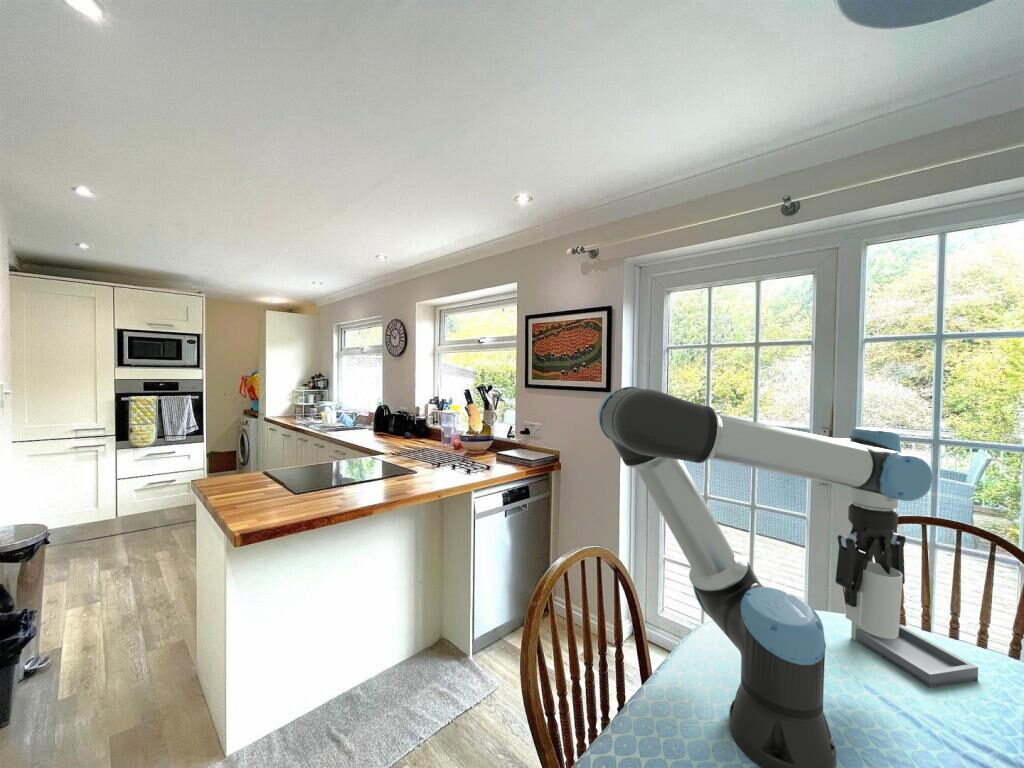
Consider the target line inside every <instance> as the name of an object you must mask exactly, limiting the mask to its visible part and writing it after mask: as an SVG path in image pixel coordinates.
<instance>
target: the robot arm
mask: <svg viewBox="0 0 1024 768" xmlns="http://www.w3.org/2000/svg"><path fill="white" fill-rule="evenodd" d="M597 417H598V418H597V419H598V420H597V421H598V425H599V426H600V429H601V431H602V433H603V434H604V436H606V438H607V439H609V440H610V441H611V442H612V444H613V445H614V448H615V450H616V451H617V453H618V455H619V456H620V458H621V459H622V461H623V463H624V465H625V466H627V467H630V468H632V469H635V470H636V471H637V472H638V474H639V476H640V479H642V482H643V484H644V486H645V487H646V489H647V490H648V492H649V495H650V496H651V498H652V499H653V501H654V503H655V505H656V506H657V508H658V510H659V512H660V513H661V516H662V517H663V519H664V521H665V523H666V524H667V526H668V528H669V529H670V532H671V533H672V535H673V537H674V538H675V541H676V543H677V544H678V546H679V547H680V549H681V551H682V553H683V555H684V557H685V558H686V561H687V562H688V564H689V566H690V569H689V573H688V575H689V578H688V579H689V581H690V583H691V584H692V587H693V588H692V589H693V593H694V596H695V597H696V600H697V602H698V604H699V606H700V607H701V608H702V610H703V611H704V612H705V614H706V615H707V616H708V617H709V618H710V619H711V620H712V621H713V622H714V623H715V624H716V625H717V627H719V629H720V630H721V631H722V632H723V633H724V635H725V636H726V637H727V638H728V639H729V640H730V642H731V643H732V644H733V645H734V646H735V647H736V648H737V650H738V651H739V653H740V658H741V660H740V684H739V686H738V687H737V691H736V694H735V697H734V699H733V700H732V702H731V704H730V707H729V712H728V716H729V718H728V727H729V732H730V734H731V737H732V739H733V740H734V742H735V743H736V745H737V747H738V748H739V749H740V750H741V752H743V753H744V755H746V756H747V758H749V759H750V760H751V761H752V762H754V763H755V764H756V763H757V764H756V765H758V766H759V765H760V766H759V767H761V766H762V767H764V768H837V750H836V746H835V743H834V739H833V738H832V734H831V730H830V727H829V725H828V721H827V719H826V716H825V712H824V691H825V689H824V688H825V687H824V686H825V660H826V659H825V657H826V650H827V649H826V647H827V645H826V639H825V630H824V624H823V622H822V620H821V618H820V617H819V615H818V614H817V612H816V611H815V610H814V609H813V608H812V606H810V605H809V604H808V603H807V602H806V601H803V600H802V599H801V598H799V597H797V596H795V595H793V594H787V593H786V591H784V590H781V589H778V588H773V587H768V586H767V587H766V586H764V585H762V583H761V582H760V581H759V579H758V578H757V576H756V574H755V572H754V570H753V569H752V566H751V565H750V563H749V562H748V560H747V558H746V557H745V556H744V554H742V552H739V551H736V550H733V549H732V547H731V545H730V543H729V541H728V540H727V538H726V536H725V534H724V533H723V531H722V529H721V528H720V526H719V524H718V522H717V520H716V518H715V517H714V515H713V513H712V511H711V509H710V508H709V506H708V504H707V503H706V501H705V499H704V496H703V495H702V493H701V491H700V490H699V488H698V486H697V484H696V483H695V481H694V479H693V477H692V475H691V474H690V472H689V470H688V469H687V466H686V465H685V463H684V462H685V461H686V462H690V463H691V462H692V463H696V464H703V463H706V462H707V461H708V460H712V461H718V462H723V463H726V464H727V463H728V464H731V465H736V466H742V467H747V468H752V469H757V470H763V471H768V472H773V473H778V474H783V475H788V476H792V477H796V478H797V477H798V478H803V479H807V480H812V481H817V482H822V483H827V484H831V485H832V484H833V485H837V486H843V487H848V500H849V502H850V503H848V511H847V513H848V515H847V517H848V521H849V522H850V524H851V526H852V528H851V530H850V532H849V534H847V535H842V534H839V535H837V542H838V552H837V553H838V554H837V561H836V562H837V565H836V573H835V583H836V584H837V585H839V586H842V587H843V588H844V587H845V591H844V603H845V619H847V620H849V621H851V623H852V622H854V623H856V624H857V625H862V615H863V592H862V591H860V587H861V583H862V580H863V569H864V570H866V568H867V564H868V562H870V561H871V560H873V559H874V563H878V564H880V565H881V566H882V568H883V569H884V570H885V571H886V573H887V574H889V575H890V567H891V568H894V569H896V570H898V571H899V572H901V573H902V574H903V576H902V586H903V585H904V584H905V582H906V579H905V578H906V576H905V575H906V574H905V555H904V553H905V552H904V547H905V543H906V539H907V538H906V536H904V535H902V534H899V533H897V532H894V531H895V530H897V529H898V528H899V527H898V526H899V512H898V510H897V508H898V507H899V501H903V502H913V501H918V500H920V499H922V498H923V497H925V496H926V494H928V492H929V491H930V490H931V487H932V483H933V482H932V481H933V479H934V478H933V471H932V469H931V466H930V465H929V464H928V462H926V461H925V460H924V459H923V458H922V457H919V456H918V455H914V454H909V453H906V452H905V451H902V448H901V436H900V434H899V433H898V432H897V431H896V430H893V429H888V428H880V427H867V426H866V427H864V426H860V427H859V426H858V427H853V428H852V429H851V431H850V435H849V437H846V438H843V437H842V438H841V437H840V438H839V437H829V436H824V435H820V434H819V435H818V434H815V433H808V432H804V431H798V430H796V429H795V430H793V429H790V428H786V427H785V428H784V427H780V426H777V425H776V426H775V425H770V424H766V423H761V422H756V421H752V420H751V421H750V420H746V419H741V418H736V417H731V416H727V415H722V414H719V413H718V414H717V411H716V410H715V409H714V407H713V406H708V405H703V404H699V403H695V402H692V401H688V400H684V399H681V398H679V397H676V396H674V395H671V394H668V393H665V392H662V391H659V390H655V389H649V388H639V387H636V386H625V387H624V386H623V387H622V388H618V389H616V390H614V391H612V392H610V393H609V394H607V396H605V397H604V399H603V400H602V402H601V404H600V406H599V409H598V415H597ZM762 767H761V768H762Z"/></svg>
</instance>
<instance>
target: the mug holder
mask: <svg viewBox="0 0 1024 768" xmlns="http://www.w3.org/2000/svg"><path fill="white" fill-rule="evenodd" d="M850 631H851V633H850V635H851V636H850V638H851V639H853V640H854V641H856V642H857V643H859V644H861V645H862V646H863V647H865V648H867V649H868V650H870V651H872V652H873V653H874V654H876V655H877V656H879V657H881V658H883V660H886V661H887V662H889V663H890V664H892V665H894V666H896V667H897V668H898V669H900V670H901V671H903V672H904V673H905V674H908V675H909V676H911V677H912V678H914V679H915V680H917V681H918V682H920V683H921V684H924V685H925V686H926V687H928V688H929V689H930V688H935V687H936V688H937V687H942V686H948V685H954V684H961V683H967V682H973V681H978V679H979V666H977V665H975V664H973V663H971V662H969V661H968V660H965V659H963V658H962V657H960V656H958V655H957V654H955V653H952V652H951V651H949V650H947V649H945V648H943V647H942V646H940V645H938V644H936V643H934V642H932V641H931V640H929V639H926V638H925V637H923V636H921V635H920V634H918V633H916V632H914V631H912V630H910V629H908V628H907V627H904V626H903V625H901V624H899V635H898V637H897V638H895V639H886V638H881V637H877V636H874V635H872V634H870V633H867V632H866V631H864V630H862V629H861V628H860V627H859V626H858V625H857V624H856V623H854V622H852V621H851V630H850Z"/></svg>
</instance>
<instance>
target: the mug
mask: <svg viewBox="0 0 1024 768" xmlns="http://www.w3.org/2000/svg"><path fill="white" fill-rule="evenodd" d="M902 576H903V574H902V573H901V572H899V571H898V570H896V569H894V568H891V567H890V575H889V574H887V573H886V571H885V570H884V569H883V568H882V566H881V565H880V564H878V563H875V562H872V561H868V564H867V568H866V570H864V569H863V580H862V583H861V587H860V591H862V592H863V615H862V625H858V626H859V627H860V628H861V629H862V630H864V631H866V632H867V633H870V634H872V635H874V636H877V637H881V638H886V639H895V638H897V637H898V635H899V625H901V624H900V623H901V607H902V593H903V585H902ZM843 589H844V592H845V587H843Z"/></svg>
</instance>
